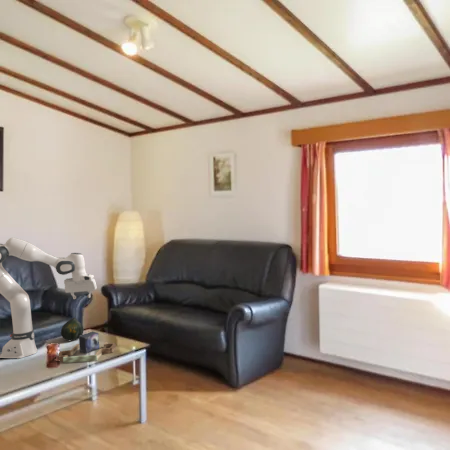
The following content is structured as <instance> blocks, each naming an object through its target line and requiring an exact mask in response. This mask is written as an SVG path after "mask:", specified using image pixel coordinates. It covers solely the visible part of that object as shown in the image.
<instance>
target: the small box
mask: <svg viewBox="0 0 450 450" xmlns="http://www.w3.org/2000/svg"><path fill="white" fill-rule="evenodd" d="M78 342H79V343H78V344H79V353H81V354H85V355H86V354H87V355H88V354H89V353H93V352H94V351H97V350H98V351H99V349H101V348H100V340H99V332H97V331H89V332H87V333H86V332H85V333H83V334H82V335H80V336H79V338H78Z"/></svg>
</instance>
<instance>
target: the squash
mask: <svg viewBox="0 0 450 450" xmlns="http://www.w3.org/2000/svg"><path fill="white" fill-rule="evenodd" d="M83 327H84V326H83V325H82V323H81V322H80V321H79V320H78V319H77V318H76V317H72V318H71V319H69V320H68V321H66V322H65V323H64V324H63V325H62V327H61V330H60V336H61V337H62V339H65V340H66V341H67V340H71V341H76V340H77V339H78V340H79V336H80V335H83V334H84V328H83Z"/></svg>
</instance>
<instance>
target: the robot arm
mask: <svg viewBox="0 0 450 450" xmlns="http://www.w3.org/2000/svg"><path fill="white" fill-rule="evenodd" d="M10 256H13V257H16V258H18V259H20V260H23V261H27V262H41V263H44V264H46V265H48V266H51V267H54V269H55V271H56V272H57V273H58V274H59V275H61V276H65V275H69V274H71V277H69V278H65V279H64V281H63V284H64V292H65V294H67V293H70V295H71V296H72V298H73V300H76V299H77V295H75V293H81V292H82V293H83V292H88V293H89V294H87V299H90V298H91V296H92V295H91V294H92V292H94V291H96V290H97V289H98V287H97V283H96V279H95V275H94V274H90V273H87V271H86V261H85V256H84V255H83V254H82V253H80V252H71V253H70V254H69V255H67V256H66V257H57V256H54V255H52V254H50V253H47V252H46V251H44V250H42V249H40V248H39V247H38V246H37V245H34V244H33V243H31V242H28V241H27V240H23V239H21V238H17V237H10V238H8V240H6V241H5V243H4V244H3V243H0V295H1V296H2V297H4V299H5V300H6V301H7V302H8V303H10V306H9V307H10V313H11V319H12V320H11V321H12V330H13V332H12V333H11V334H10V335H9V338H11V339H10V340H8V342H6V343H5V345H3V346H2V350H1V353H0V358H17V359H22V358H25V357H30V356H32V355H35V354H36V353H37V352H38V349H37V346H36V342H35V332H34V328H33V320H32V318H33V317H32V310H31V309H32V308H31V300H30V296H29V294H28V293H27V291H25V290H24V289H23V287H21V285H20V284H19V283H18V282H17V281H16V280H15V279H14V278H13V276H11V275H10V273H9V272H8V271H7V270H6V269H5V267H3V266H4V265H3V262H4V261H5V260H7V258H8V257H10Z"/></svg>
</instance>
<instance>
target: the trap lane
mask: <svg viewBox="0 0 450 450" xmlns="http://www.w3.org/2000/svg"><path fill="white" fill-rule="evenodd" d="M116 349H117V343H115V342H110V343H108V341H105V342H104V343H103V348H102V347H101V348H100V349H98V351H97V352H96V353H95V354H90V355H88V354H87V355H76V356H74V355H75V354H76V353H77V352H78V351H79V350H80V345H79V343H76V345H74V346H73V348H72V349H70V350H68V349H67V350H59V352H58V353H59V360H60V361H61V362H63V364H69V363H82V362H95V360H97V361H98V360H99V359H100V357H101V356H102V355H106V354H109V355H110V354H113V353H114V351H115V350H116Z"/></svg>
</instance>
